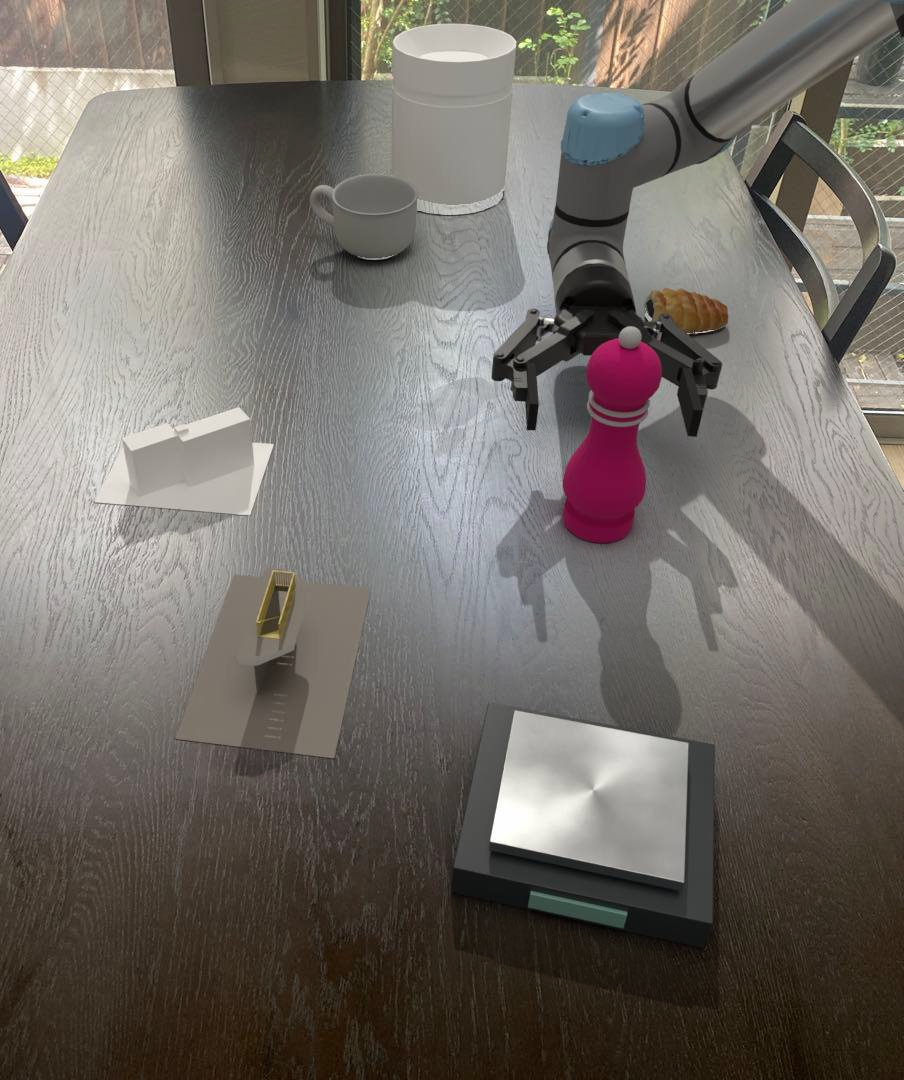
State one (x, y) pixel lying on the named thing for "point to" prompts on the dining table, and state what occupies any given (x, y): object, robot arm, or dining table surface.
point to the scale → (578, 889)
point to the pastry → (687, 309)
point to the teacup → (370, 213)
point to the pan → (594, 800)
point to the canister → (452, 110)
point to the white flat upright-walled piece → (190, 466)
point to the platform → (278, 666)
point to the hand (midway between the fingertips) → (613, 420)
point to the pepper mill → (611, 440)
